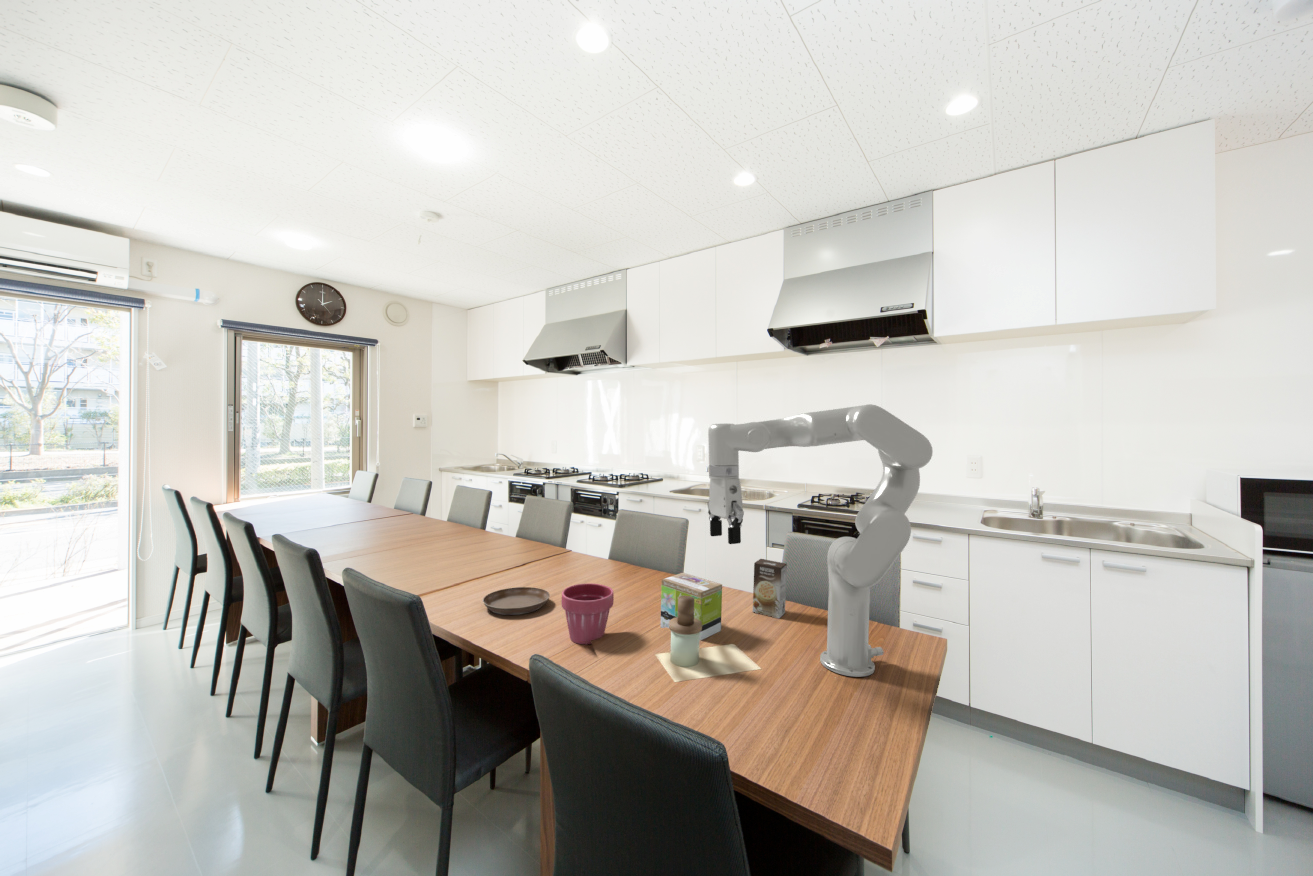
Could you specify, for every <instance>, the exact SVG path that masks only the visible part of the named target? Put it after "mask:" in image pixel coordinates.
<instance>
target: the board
mask: <svg viewBox="0 0 1313 876" xmlns="http://www.w3.org/2000/svg"><path fill="white" fill-rule="evenodd" d="M670 653H671V651H669V652H662V653H655V654H654V655H655V657H656V658H657V659H658V661H659V662H660V664H661V665H662V666H663V668H664V670H665V671H666V672H667V674H668V675H669V676H670V678H671V680H672V681H673V682H674V683H677V682H678V683H680V682H685V681H686V682H687V681H692V680H693V681H694V680H698V679H699V680H700V679H705V678H711V677H718V676H724V675H730V674H731V675H733V674H738V673H744V672H750V671H757V670H762V668H761V667H760V666H759V665H758V664H757V663H756V662H755V661H753V660H752V659H751V658H750V657H748V655H747V654H746V653H745V652H744V651H742V650H741V649H740V648H739V647H738V646H737V645H736V644H734V643H731V644H730V643H729V644H723V645H715V646H707V647H702V648H701V647H699V663H698V664H697V665H695V666H692V667H680V666H676V665H674V664H673V663H672V662H671V661H670Z"/></svg>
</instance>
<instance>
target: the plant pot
mask: <svg viewBox="0 0 1313 876" xmlns="http://www.w3.org/2000/svg"><path fill="white" fill-rule="evenodd" d="M614 593H615V592H614V589H613V588H611V586H610V587H609V586H607V585H605V584H600V583H590V582H589V583H586V582H585V583H578V584H573V585H570V586H567V587H566V588H564V589H563V591H562V592H561V608H562V609H563V610H564V612H565V618H566V623H567V629H568V634H569V639H570V641H572V642H573V643H574V644H579V645H592V641H594V640H598V639H600V638H602V637H603V636H604V635H605V632H606V628H607V623H608V618H609V614H610V609H611V608H612V607H613V606H614V602H615V601H614V597H615V596H614Z"/></svg>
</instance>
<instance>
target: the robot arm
mask: <svg viewBox="0 0 1313 876" xmlns="http://www.w3.org/2000/svg"><path fill="white" fill-rule="evenodd" d="M707 433H708V435H707V436H708V437H707V438H708V477H709V479H710V480H709V491H708V502H707V504H706V505H707V509H708V512H707V513H708V515H709V517H708V520H709V534H710V535H709V536H711V537H721V536H722V535H723V525H722V523H723V522H722V519H724V520H725V519H726V521H727V523H728V526H729V527H727V543H728V544H729V545H736V544H741V543H742V542H741V541H742V538H741V537H742V536H741V534H742V533H741V532H742V531H741V528H742V526H743V525H742V523H743V520H744V514H745V511H744V508H743V507H744V505H743V494H742V486H741V480H740V470H739V469H740V464H739V457H740V456H739V452H748V453H759V452H762V451H764V450H768V449H777V448H786V447H799V448H802V447H803V448H806V447H807V448H808V447H809V448H810V447H819V446H825V445H834V444H843V443H851V442H857V441H858V442H860V441H865V442H867V443H868V444H870V445H871V446H872V447H873V448H875V449H876V450H878V451H877V453H878V456H879V458H880V461H881V464H882V469H883V470H882V475H881V479H880V480H879V482H878V484H877V486H876V487H875V489H874V491H872V492H871V494H870V496H869V497H868V499H867V500H866V501H865V503H864V504H863V505H862V507H861V508H860V509H859V511H858V512H857V514H856V516H855V520H854V522H855V528H856V529H857V531H858V532H859V536H858V537H857V538H856V537H852V536H841V537H838V538H836V539H835V540H834V541H832V543H831V544H830V546H829V547H828V551H827V557H826V559H827V560H826V562H827V574H828V575H827V576H828V599H827V600H828V601H827V635H826V638H827V639H826V650H823V652H821V653H820V656H819V658H820V660H819V661H820V663H821V664H822V666H823V667H824V668H825V669H828V670H829V671H832V672H834V673H836V674H839V675H842V676H847V677H852V678H853V677H855V678H858V677H859V678H862V677H868V676H871V675H873V674H874V673H875V670H876V669H875V667H876V666H875V663H874V662H873V660H872V659H873V658H874V657H878V656H883V655H884V649H883V648H882V647H881V646H876V647H872V645H870V644H869V637H870V636H869V635H870V633H869V630H870V629H869V628H870V607H871V606H870V604H871V592H870V591H871V590H870V588H872V587H874V586H875V585H877V584H878V583H879V582H881V580H882V579H883V578H884V577H885V576H886V574H887V573H888V572H889V570H890V568H891V567H892V566H893V565H894V564H895V562H896V561H897V559H898V558H899V556H900V555H901V553H902V552H903V551H904V550H905V547H907V545H908V543H909V541H910V539H911V538H910V537H911V533H912V525H911V522H910V520H909V518H908V516H907V515H906V513H907V511H908V510H909V508H910V506H911V504H912V503H913V501H914V500H915V498H916V497H917V494H918V491H919V489H920V483H921V476H920V475H921V474H920V469H921V468H923V467H925V466H926V465H927V464H929V462H930V461H931V459H932V457H933V447H932V444H931V442H930V440H929V439H928V438H927V437H926V436H925V435H924V434H923V433H921V432H920V431H918V430H917V429H915V428H913V427H912V426H911V425H909V424H907V423H905V422H904V421H903V420H901V419H900V418H899V417H897V416H896V415H894V414H892V413H891V412H890V411H888V410H886V409H884V408H883V407H882V406H878V405H876V404H871V403H870V404H863V405H857V406H847V407H843V408H842V407H840V408H833V409H828V410H827V409H826V410H820V411H819V410H818V411H812V412H805V413H801V414H796V415H793V416H790V417H789V416H788V417H784V418H776V419H772V420H771V419H770V420H763V421H752V422H746V423H745V422H744V423H739V424H738V423H737V424H735V423H712V424H710V425H709V427H708V432H707Z"/></svg>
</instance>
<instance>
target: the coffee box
mask: <svg viewBox="0 0 1313 876" xmlns="http://www.w3.org/2000/svg"><path fill="white" fill-rule="evenodd" d="M787 566H788V564H787V563H785V562H781V561H776V560H769V559H764V558H760V559H758V560H756V561H755V562H754V565H753V586H752V587H753V591H752V593H753V594H752V613H754V612H755V613H754V614H758V613H760V614H759V615H762V614H763V615H762V616H766V615H768V616H767V617H770V616H772V617H771V618H775V619H780V618H781V617H783V615H785V613H786V598H787V597H786V595H787V594H786V591H787V590H786V589H787V572H788V571H787V569H788V568H787Z"/></svg>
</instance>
